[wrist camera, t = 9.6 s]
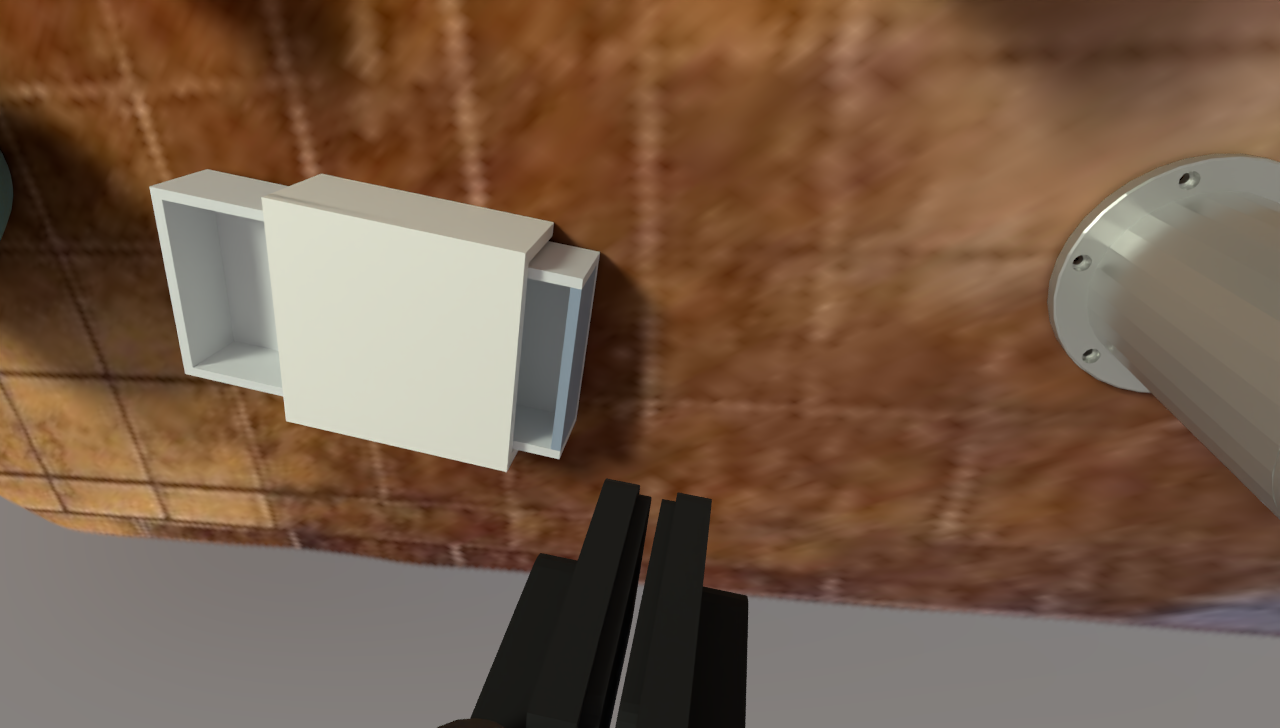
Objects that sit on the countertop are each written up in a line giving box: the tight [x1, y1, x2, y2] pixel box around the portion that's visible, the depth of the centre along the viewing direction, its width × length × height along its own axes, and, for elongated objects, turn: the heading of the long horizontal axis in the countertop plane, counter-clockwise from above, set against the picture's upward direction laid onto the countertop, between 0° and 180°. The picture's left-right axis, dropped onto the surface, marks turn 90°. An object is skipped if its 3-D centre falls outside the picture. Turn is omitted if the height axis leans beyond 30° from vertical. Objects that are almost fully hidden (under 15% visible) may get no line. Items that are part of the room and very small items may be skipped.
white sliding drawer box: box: [150, 169, 600, 459], centre depth 41 cm, size 24×12×4 cm, turn 80°
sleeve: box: [261, 174, 554, 472], centre depth 40 cm, size 14×14×6 cm
